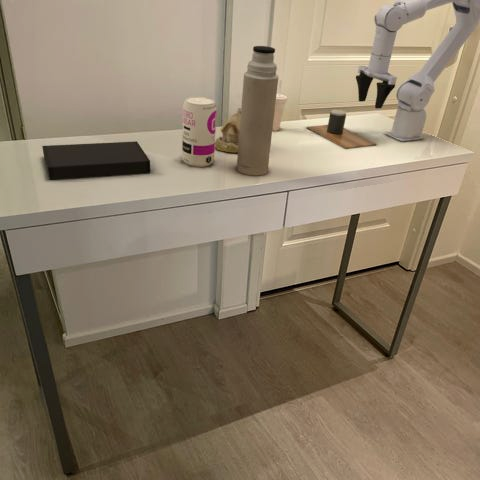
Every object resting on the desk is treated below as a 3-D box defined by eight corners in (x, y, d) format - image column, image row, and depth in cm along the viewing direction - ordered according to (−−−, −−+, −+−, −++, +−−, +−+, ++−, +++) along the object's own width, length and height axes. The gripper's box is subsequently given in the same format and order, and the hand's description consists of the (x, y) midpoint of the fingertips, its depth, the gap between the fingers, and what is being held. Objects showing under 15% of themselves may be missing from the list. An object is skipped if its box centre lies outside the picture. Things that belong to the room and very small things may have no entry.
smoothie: (283, 132, 155) (290, 84, 146) (263, 131, 155) (268, 82, 146) (282, 126, 160) (288, 79, 151) (262, 124, 160) (267, 77, 151)
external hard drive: (150, 173, 121) (150, 160, 119) (49, 180, 113) (47, 167, 111) (137, 152, 131) (136, 141, 129) (43, 157, 123) (41, 145, 122)
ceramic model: (230, 135, 149) (232, 99, 143) (264, 143, 145) (268, 107, 139) (207, 148, 138) (209, 110, 132) (244, 157, 135) (248, 118, 129)
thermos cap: (336, 129, 161) (339, 108, 158) (345, 133, 158) (350, 113, 154) (323, 130, 159) (327, 109, 155) (333, 135, 156) (337, 114, 152)
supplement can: (218, 159, 132) (221, 99, 123) (206, 169, 126) (209, 107, 116) (190, 154, 134) (191, 94, 125) (177, 163, 127) (177, 101, 118)
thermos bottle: (230, 167, 128) (238, 44, 111) (251, 161, 133) (263, 42, 116) (252, 177, 124) (264, 51, 107) (274, 171, 129) (289, 49, 112)
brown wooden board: (335, 125, 166) (336, 124, 166) (376, 145, 153) (376, 143, 152) (306, 128, 161) (306, 126, 161) (345, 148, 148) (345, 147, 147)
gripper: (354, 49, 147) (344, 98, 155) (388, 60, 137) (375, 112, 145) (372, 49, 150) (362, 97, 158) (406, 59, 140) (393, 110, 148)
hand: (369, 104), depth 152 cm, fingers open, 7 cm apart
